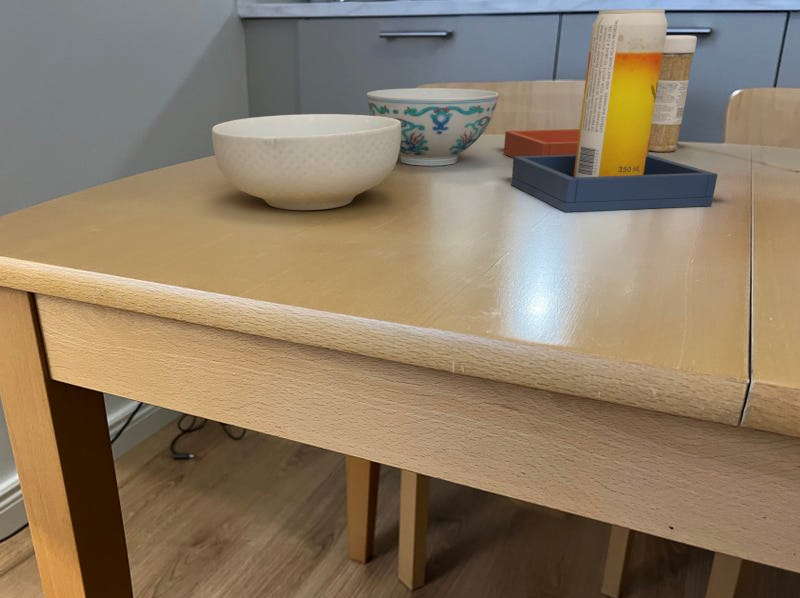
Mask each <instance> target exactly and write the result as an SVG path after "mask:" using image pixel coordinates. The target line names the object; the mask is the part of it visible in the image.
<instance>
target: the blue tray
mask: <svg viewBox="0 0 800 598" xmlns="http://www.w3.org/2000/svg"><path fill="white" fill-rule="evenodd" d="M575 161H576V155H548V156H522V157H521V156H518V157H514V158H513V162H512V173H511V184H510V185H511V186H513V187H515V188H517V189H519V190H521V191H523V192H525V193H527V194H529V195H531V196H533V197H535V198H537V199H539V200H541V201H542V202H545V203H547V204H549V205H550V206H552V207H554V208H557V209H558V210H560V211H562V212H564V213H576V212H577V213H578V212H580V213H581V212H600V211H625V210H627V211H628V210H648V209H670V208H674V209H675V208H695V207H712V204H713V200H714V194H715V190H716V186H717V185H716V184H717V180H718V173H716V172H713V171H708V170H705V169H701V168H698V167H694V166H691V165H688V164H683V163H680V162H677V161H673V160H669V159H666V158H662V157H659V156H655V155H651V154H649V153H648V154H647V155H646V161H645V167H644V173H643V175H629V176H601V177H574V169H575Z"/></svg>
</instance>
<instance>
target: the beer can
mask: <svg viewBox="0 0 800 598" xmlns="http://www.w3.org/2000/svg"><path fill="white" fill-rule="evenodd" d="M665 12H666V9H655V8H654V9H611V10H610V9H607V10H606V9H605V10H603V9H602V10H599V11H598V14H597V17H595V20H594V22H593V23H592V26H591V35H590V40H589V41H590V42H589V51H588V59H587V65H586V75H585V80H584V82H585V83H584V89H583V97H582V104H581V105H582V106H581V113H580V114H581V116H580V123H579V128H578V129H579V137H578V145H577V153H576V161H575V169H574V177H601V176H629V175H643V173H644V167H645V161H646V155H647V149H648V142H649V136H650V130H651V124H652V118H653V112H654V105H655V99H656V93H657V87H658V81H659V75H660V69H661V62H662V56H663V50H664V44H665V38H666V36H667V31H668V25H669V24H668V20H667V18H666V14H665Z"/></svg>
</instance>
